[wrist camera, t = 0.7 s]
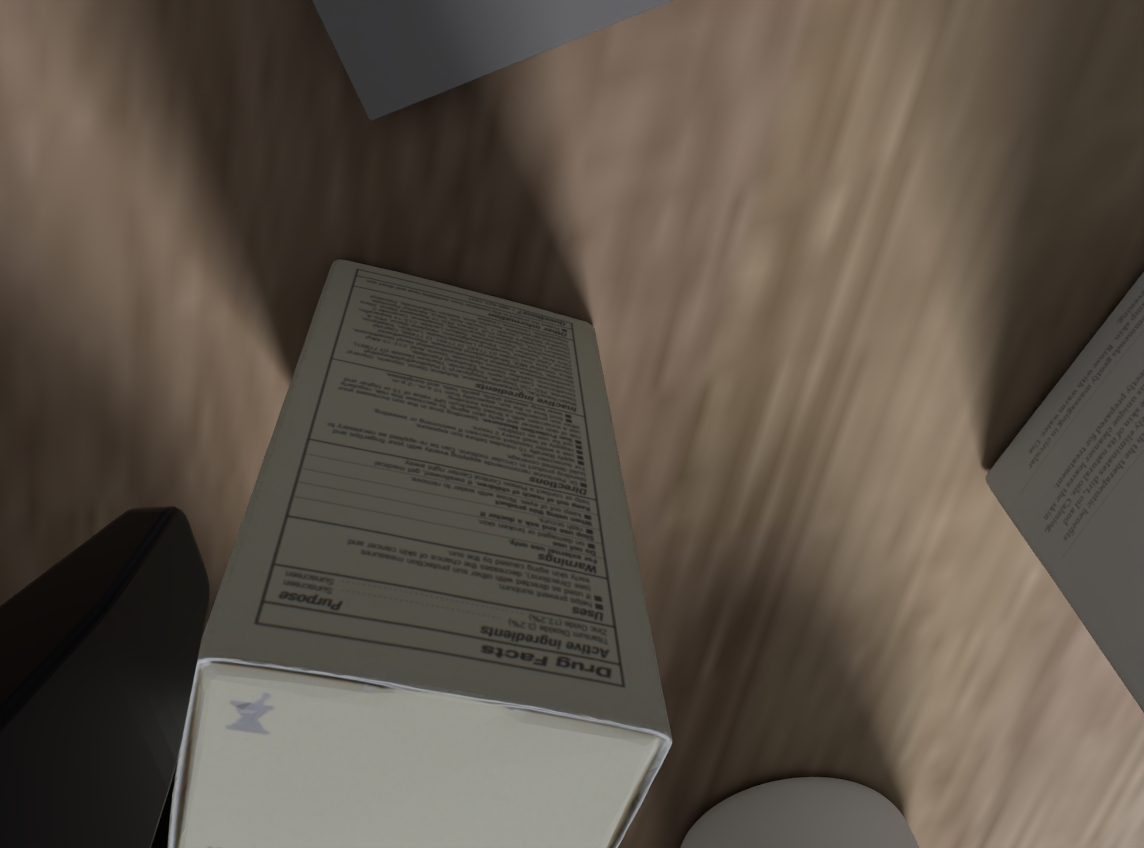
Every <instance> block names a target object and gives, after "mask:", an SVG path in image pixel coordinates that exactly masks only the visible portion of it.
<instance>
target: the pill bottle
mask: <svg viewBox="0 0 1144 848" xmlns="http://www.w3.org/2000/svg"><path fill="white" fill-rule="evenodd" d="M680 848H919V846H918V844H917V841H916V839H915V837H914V835H913V833H912V832H911V829H910V827H909V825H908V823H907V821H906V820H905V818H904V817H903V815H902V814H901V812H900V811H899V810H898V809H897V808H896V807H895V805H894V804H892V803H891V802H890V801H889V800H888V799H887V798H885V797H884V796H883V795H881V794H880V793H878V792H876V791H875V790H873V789H871V788H869V787H866V786H864V785H861V784H858V783H855V782H851V781H847V780H842V779H836V778H827V777H800V778H790V779H783V780H778V781H773V782H769V783H765V784H761V785H758V786H755V787H752V788H749V789H746V790H744V791H742V792H739V793H737V794H735V795H733V796H731V797H729V798H727V799H725V800H723V801H722V802H720V803H719V804H717V805H716V806H714V807H713V808H711V809H710V810H709V811H707V812H706V813H705V814H704V815H703V816H702V817H701V818H700V819H698V821H697V822H696V823H695V824H694V825H693V826H692V827H691V829H690V830H689V832H688V833H687V835H686V836H685V838H684V840H683V842H682V845H681V847H680Z"/></svg>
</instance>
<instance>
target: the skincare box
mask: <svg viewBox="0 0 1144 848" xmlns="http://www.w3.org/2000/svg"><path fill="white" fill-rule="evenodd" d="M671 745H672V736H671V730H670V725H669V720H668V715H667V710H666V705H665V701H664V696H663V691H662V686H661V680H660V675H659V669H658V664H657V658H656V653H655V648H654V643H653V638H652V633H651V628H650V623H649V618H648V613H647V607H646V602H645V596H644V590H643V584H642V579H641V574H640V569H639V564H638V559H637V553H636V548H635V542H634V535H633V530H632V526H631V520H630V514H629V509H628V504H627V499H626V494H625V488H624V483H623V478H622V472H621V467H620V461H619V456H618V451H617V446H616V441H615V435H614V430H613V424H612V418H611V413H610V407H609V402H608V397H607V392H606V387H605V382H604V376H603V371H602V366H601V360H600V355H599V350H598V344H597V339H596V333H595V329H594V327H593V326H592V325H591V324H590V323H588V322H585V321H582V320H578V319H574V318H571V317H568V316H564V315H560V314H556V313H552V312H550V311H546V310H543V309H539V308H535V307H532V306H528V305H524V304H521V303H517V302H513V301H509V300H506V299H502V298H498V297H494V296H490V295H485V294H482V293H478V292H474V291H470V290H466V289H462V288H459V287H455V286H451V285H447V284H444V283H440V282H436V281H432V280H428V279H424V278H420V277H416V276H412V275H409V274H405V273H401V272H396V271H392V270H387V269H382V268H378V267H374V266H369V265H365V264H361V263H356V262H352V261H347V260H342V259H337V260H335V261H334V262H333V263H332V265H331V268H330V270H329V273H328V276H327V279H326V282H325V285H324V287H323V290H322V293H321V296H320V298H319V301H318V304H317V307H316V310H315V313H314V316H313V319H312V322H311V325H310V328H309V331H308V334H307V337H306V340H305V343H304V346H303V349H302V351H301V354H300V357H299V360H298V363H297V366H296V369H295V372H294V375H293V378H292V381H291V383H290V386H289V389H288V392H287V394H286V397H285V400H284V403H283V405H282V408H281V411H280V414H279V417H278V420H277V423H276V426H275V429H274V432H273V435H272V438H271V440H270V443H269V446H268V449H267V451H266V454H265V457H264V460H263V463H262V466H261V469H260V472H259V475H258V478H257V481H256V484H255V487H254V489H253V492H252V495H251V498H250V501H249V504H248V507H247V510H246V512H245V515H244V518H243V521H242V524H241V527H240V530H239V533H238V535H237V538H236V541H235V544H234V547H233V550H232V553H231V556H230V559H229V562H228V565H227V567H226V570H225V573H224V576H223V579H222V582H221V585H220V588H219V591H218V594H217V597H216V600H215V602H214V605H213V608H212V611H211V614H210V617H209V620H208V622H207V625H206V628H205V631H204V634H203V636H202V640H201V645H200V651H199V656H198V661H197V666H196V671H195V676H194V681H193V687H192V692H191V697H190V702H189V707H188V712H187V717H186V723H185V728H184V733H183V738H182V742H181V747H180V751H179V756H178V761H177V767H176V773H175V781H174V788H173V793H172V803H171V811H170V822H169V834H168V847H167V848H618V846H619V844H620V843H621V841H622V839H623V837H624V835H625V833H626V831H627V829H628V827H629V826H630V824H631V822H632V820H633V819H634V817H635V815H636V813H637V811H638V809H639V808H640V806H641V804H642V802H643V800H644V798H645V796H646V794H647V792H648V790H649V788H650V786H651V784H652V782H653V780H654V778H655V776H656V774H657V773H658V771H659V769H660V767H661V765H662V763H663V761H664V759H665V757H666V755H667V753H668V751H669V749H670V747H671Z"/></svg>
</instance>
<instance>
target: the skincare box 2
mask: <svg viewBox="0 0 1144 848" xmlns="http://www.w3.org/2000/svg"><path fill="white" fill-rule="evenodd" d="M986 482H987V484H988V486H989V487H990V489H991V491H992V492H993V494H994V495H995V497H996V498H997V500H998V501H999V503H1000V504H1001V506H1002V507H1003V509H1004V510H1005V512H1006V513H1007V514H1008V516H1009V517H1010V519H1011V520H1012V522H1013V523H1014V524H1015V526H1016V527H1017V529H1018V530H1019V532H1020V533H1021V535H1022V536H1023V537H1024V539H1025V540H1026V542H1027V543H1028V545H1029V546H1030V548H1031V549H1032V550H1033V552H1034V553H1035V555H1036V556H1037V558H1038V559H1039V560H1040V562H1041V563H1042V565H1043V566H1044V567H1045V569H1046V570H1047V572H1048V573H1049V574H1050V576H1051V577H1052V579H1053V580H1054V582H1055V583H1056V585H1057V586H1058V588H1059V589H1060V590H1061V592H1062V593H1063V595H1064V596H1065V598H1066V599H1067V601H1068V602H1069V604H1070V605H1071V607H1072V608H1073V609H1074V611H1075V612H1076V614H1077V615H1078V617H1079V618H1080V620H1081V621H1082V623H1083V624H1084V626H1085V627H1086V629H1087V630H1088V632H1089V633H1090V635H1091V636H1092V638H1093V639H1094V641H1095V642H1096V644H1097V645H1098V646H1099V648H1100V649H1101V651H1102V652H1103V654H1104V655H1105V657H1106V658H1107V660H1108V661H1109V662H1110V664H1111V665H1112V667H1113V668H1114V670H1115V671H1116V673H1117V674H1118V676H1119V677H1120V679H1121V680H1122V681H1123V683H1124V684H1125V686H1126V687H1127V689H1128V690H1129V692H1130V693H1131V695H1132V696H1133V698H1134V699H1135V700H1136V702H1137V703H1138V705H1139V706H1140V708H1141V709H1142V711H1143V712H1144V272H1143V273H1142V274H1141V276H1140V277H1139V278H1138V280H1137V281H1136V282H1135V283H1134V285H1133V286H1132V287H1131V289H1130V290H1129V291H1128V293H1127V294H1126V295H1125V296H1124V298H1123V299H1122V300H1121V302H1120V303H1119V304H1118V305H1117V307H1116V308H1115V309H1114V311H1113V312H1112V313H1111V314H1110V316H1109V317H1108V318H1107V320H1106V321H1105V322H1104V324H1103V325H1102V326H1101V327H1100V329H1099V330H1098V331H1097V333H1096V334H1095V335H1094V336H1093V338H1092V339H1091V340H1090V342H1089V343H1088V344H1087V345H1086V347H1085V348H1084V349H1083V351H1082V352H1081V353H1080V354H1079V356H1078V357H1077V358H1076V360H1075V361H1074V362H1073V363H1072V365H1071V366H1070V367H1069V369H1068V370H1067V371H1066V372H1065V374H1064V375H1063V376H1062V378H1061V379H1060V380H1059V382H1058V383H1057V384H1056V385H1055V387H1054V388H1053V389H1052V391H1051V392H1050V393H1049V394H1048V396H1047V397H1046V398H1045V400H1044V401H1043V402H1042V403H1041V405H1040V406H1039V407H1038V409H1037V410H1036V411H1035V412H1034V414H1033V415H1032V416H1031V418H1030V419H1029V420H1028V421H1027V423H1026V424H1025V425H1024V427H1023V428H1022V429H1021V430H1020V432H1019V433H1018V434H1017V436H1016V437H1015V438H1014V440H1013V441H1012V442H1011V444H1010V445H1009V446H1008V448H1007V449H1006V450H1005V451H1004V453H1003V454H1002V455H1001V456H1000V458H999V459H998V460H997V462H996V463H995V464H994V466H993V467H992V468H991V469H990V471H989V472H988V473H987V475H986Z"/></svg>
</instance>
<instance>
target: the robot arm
mask: <svg viewBox="0 0 1144 848" xmlns="http://www.w3.org/2000/svg"><path fill="white" fill-rule="evenodd" d="M208 604H209V581H208V576H207V572H206V570H205V567H204V564H203V561H202V558H201V555H200V553H199V550H198V547H197V544H196V541H195V539H194V536H193V533H192V530H191V527H190V524H189V522H188V520H187V518H186V516H185V514H184V513H183V512H182V510H180V509H178V508H176V507H172V506H168V507H143V508H134V509H130V510H128V511H126V512H125V513H123V514H122V515H120V516H119V517H118V518H116V519H115V520H114V521H112V522H111V523H110V524H108V525H107V526H106V527H104V528H103V529H102V530H101V531H99V532H98V533H97V534H95V535H94V536H93V537H91V538H90V539H89V540H87V541H86V542H85V543H83V544H82V545H81V546H79V547H78V548H77V549H75V550H74V551H73V552H71V553H70V554H69V555H67V556H66V557H65V558H63V559H62V560H61V561H59V562H58V563H57V564H55V565H54V566H53V567H51V568H50V569H49V570H47V571H46V572H45V573H43V574H42V575H41V576H40V577H38V578H37V579H36V580H34V581H33V582H32V583H30V584H29V585H28V586H26V587H25V588H24V589H22V590H21V591H20V592H18V593H17V594H16V595H14V596H13V597H12V598H10V599H9V600H8V601H6V602H5V603H4V604H2V605H1V606H0V848H167V847H168V834H169V822H170V811H171V803H172V793H173V788H174V781H175V773H176V767H177V761H178V756H179V751H180V747H181V742H182V738H183V733H184V728H185V723H186V717H187V712H188V707H189V702H190V697H191V692H192V687H193V681H194V676H195V671H196V666H197V661H198V656H199V651H200V645H201V640H202V635H203V630H204V625H205V620H206V615H207V609H208Z"/></svg>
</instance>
